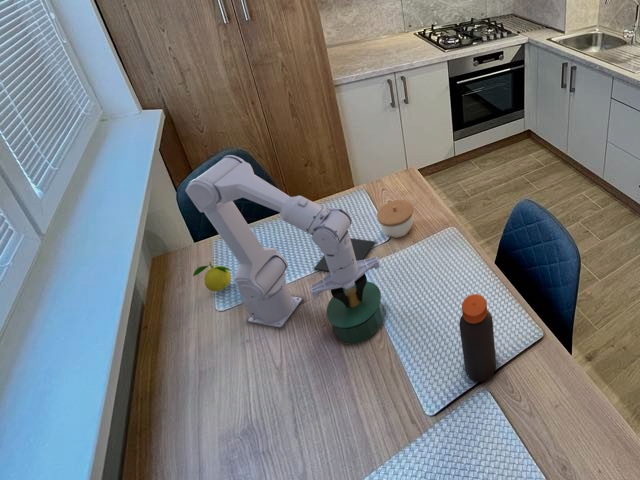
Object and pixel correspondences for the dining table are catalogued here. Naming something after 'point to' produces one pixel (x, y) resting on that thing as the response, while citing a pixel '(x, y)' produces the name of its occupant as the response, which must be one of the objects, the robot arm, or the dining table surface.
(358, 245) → the mat
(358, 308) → the tin lid
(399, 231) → the trinket box
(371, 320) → the tin
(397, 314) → the dining table surface
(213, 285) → the lemon
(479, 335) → the bottle
